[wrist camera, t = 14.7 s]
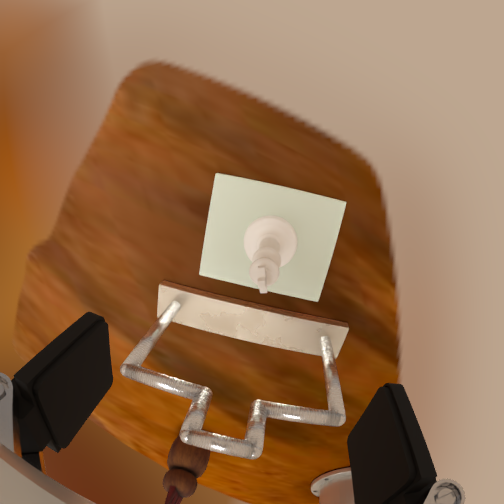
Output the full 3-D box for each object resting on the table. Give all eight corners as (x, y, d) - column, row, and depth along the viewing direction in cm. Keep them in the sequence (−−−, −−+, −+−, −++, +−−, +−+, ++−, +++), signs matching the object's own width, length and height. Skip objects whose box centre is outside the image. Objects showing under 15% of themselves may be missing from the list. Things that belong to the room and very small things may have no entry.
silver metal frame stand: (335, 352, 30) (357, 480, 14) (161, 311, 31) (80, 414, 15) (347, 322, 29) (385, 451, 13) (163, 280, 30) (69, 377, 14)
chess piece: (295, 213, 26) (300, 241, 16) (298, 265, 27) (304, 318, 18) (240, 217, 27) (215, 247, 17) (246, 269, 28) (226, 321, 18)
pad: (317, 298, 29) (318, 301, 28) (201, 271, 29) (199, 274, 29) (344, 201, 26) (346, 202, 25) (217, 172, 26) (215, 173, 26)
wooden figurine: (180, 419, 37) (146, 499, 23) (217, 431, 37) (193, 515, 22) (176, 441, 39) (147, 512, 25) (210, 452, 39) (188, 526, 24)
